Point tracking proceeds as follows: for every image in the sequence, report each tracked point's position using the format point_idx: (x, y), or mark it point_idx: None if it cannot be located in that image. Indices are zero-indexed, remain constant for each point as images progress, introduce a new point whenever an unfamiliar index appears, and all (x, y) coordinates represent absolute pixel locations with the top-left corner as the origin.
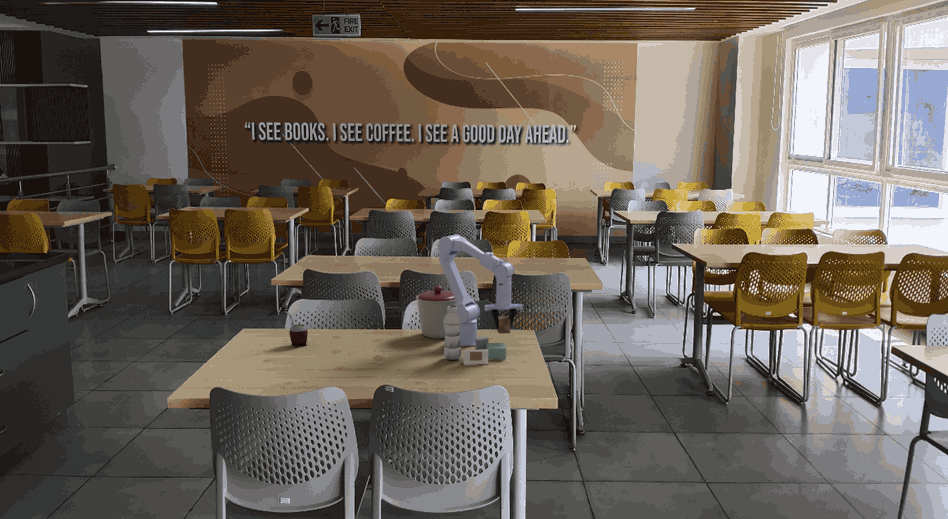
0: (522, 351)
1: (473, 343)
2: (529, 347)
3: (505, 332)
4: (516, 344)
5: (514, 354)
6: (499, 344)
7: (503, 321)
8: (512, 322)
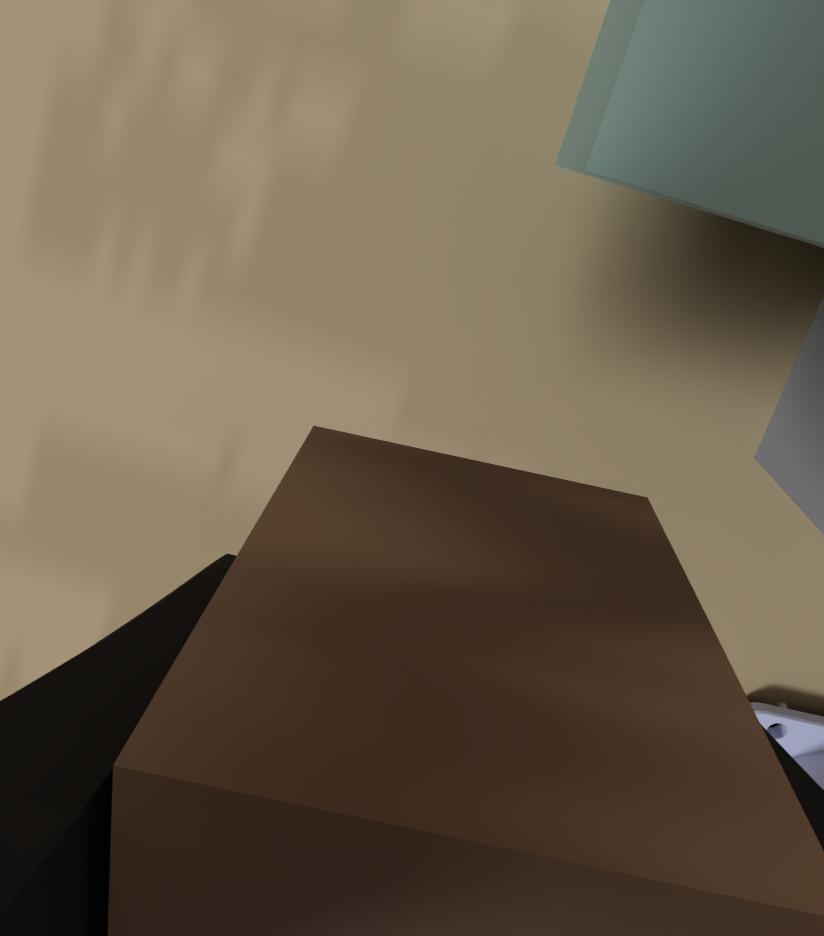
0: (174, 195)
1: (813, 757)
2: (5, 379)
3: (450, 466)
4: (172, 581)
5: (381, 46)
6: (787, 52)
7: (545, 750)
8: (76, 657)
